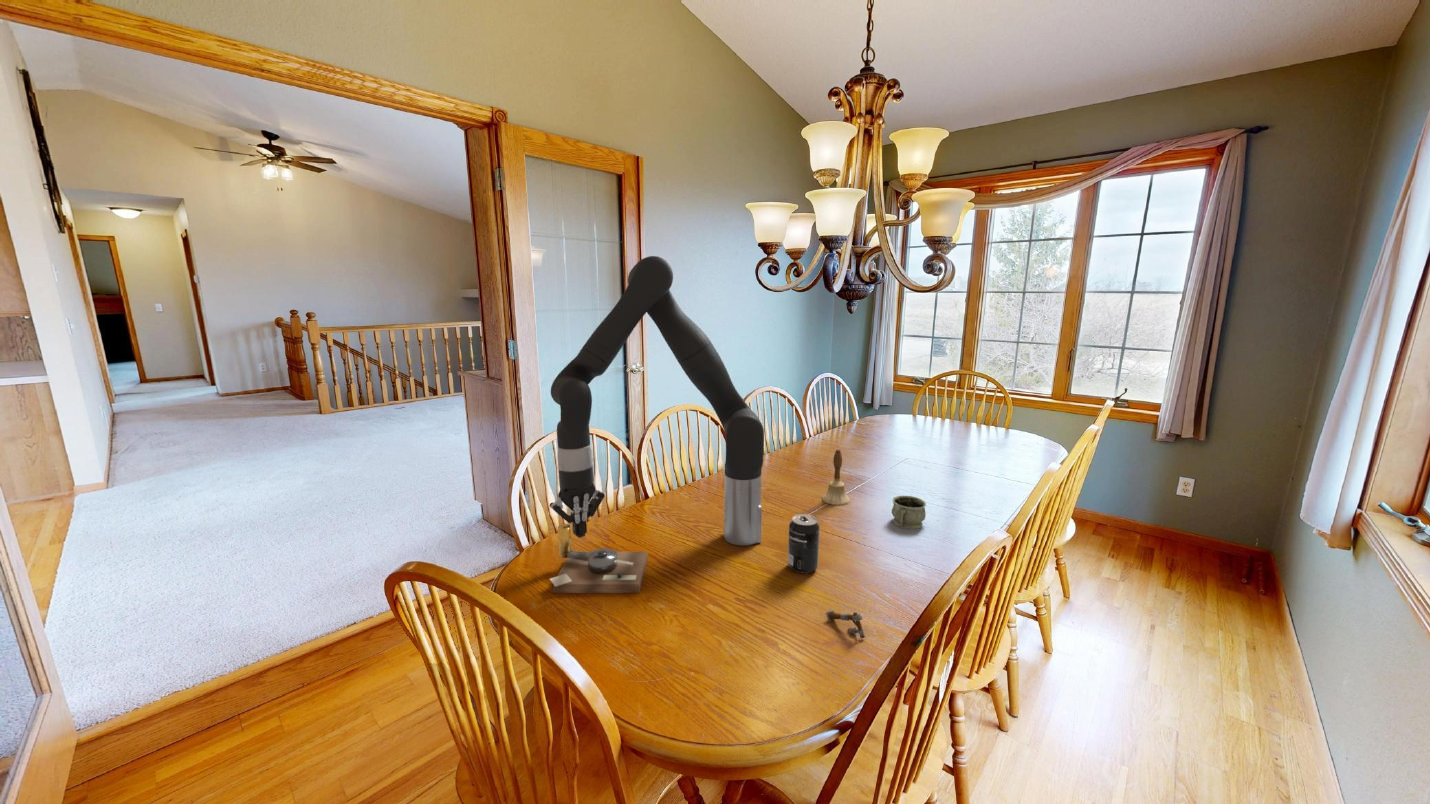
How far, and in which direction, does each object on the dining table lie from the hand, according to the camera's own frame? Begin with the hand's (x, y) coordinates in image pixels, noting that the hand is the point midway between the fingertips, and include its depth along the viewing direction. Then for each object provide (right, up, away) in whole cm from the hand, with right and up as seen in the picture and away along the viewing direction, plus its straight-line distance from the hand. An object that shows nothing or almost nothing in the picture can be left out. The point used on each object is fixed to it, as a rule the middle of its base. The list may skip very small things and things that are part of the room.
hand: (580, 535), depth 121 cm
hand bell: (+68, +1, +38) cm, 78 cm away
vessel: (+84, -2, +23) cm, 87 cm away
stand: (+6, -8, -4) cm, 11 cm away
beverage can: (+51, -7, -1) cm, 52 cm away
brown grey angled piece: (+56, -12, -22) cm, 61 cm away
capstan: (+5, -5, -4) cm, 8 cm away
